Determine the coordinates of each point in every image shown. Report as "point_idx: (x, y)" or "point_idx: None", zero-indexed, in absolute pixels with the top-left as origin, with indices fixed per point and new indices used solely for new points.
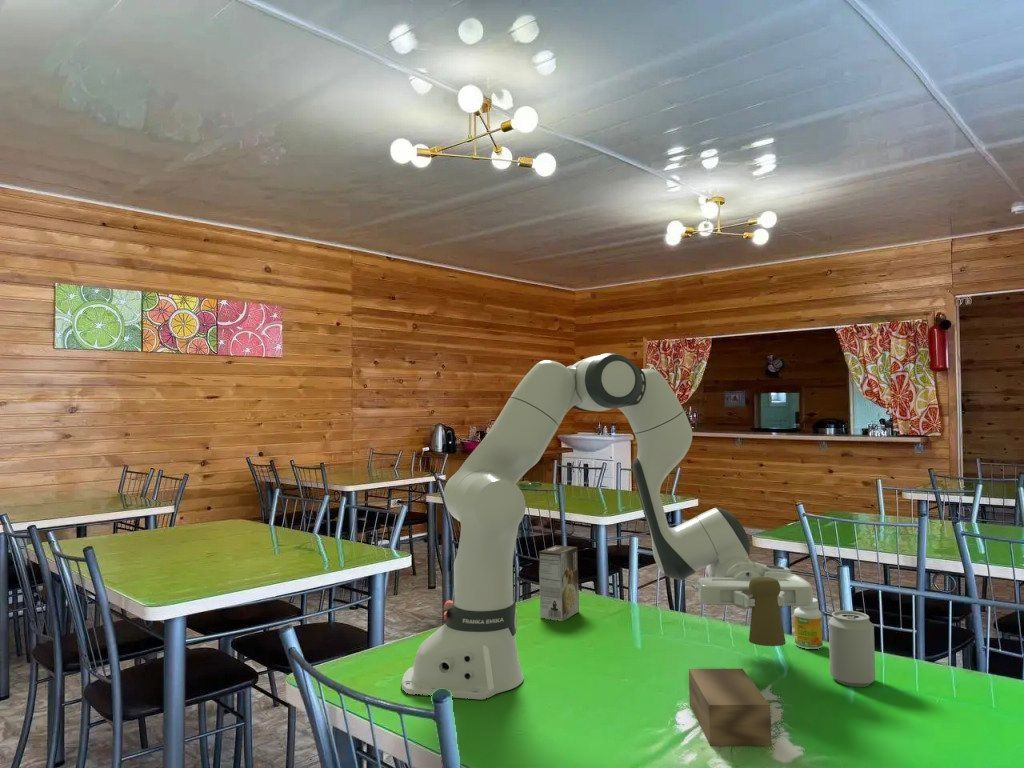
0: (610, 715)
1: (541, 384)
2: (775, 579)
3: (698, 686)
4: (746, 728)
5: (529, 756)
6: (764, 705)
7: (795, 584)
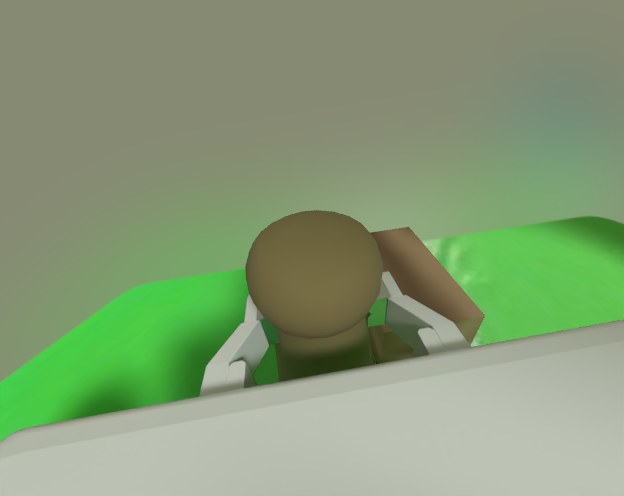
0: (556, 301)
1: None
2: (262, 234)
3: (437, 260)
4: None
5: (553, 224)
6: None
7: (55, 467)
